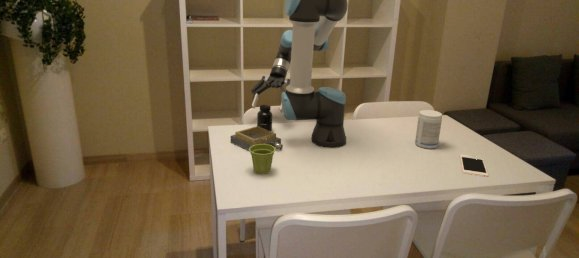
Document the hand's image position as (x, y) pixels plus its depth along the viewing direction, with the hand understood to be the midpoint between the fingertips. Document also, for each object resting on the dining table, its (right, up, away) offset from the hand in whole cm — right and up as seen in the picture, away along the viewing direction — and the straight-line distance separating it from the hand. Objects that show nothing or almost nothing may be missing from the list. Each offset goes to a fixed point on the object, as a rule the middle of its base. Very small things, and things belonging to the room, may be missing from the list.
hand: (266, 109), depth 198 cm
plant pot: (0, -24, -40) cm, 46 cm away
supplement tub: (+70, -16, -10) cm, 72 cm away
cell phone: (+82, -24, -28) cm, 90 cm away
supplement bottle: (-1, -10, -1) cm, 10 cm away
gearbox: (-3, -16, -17) cm, 23 cm away
